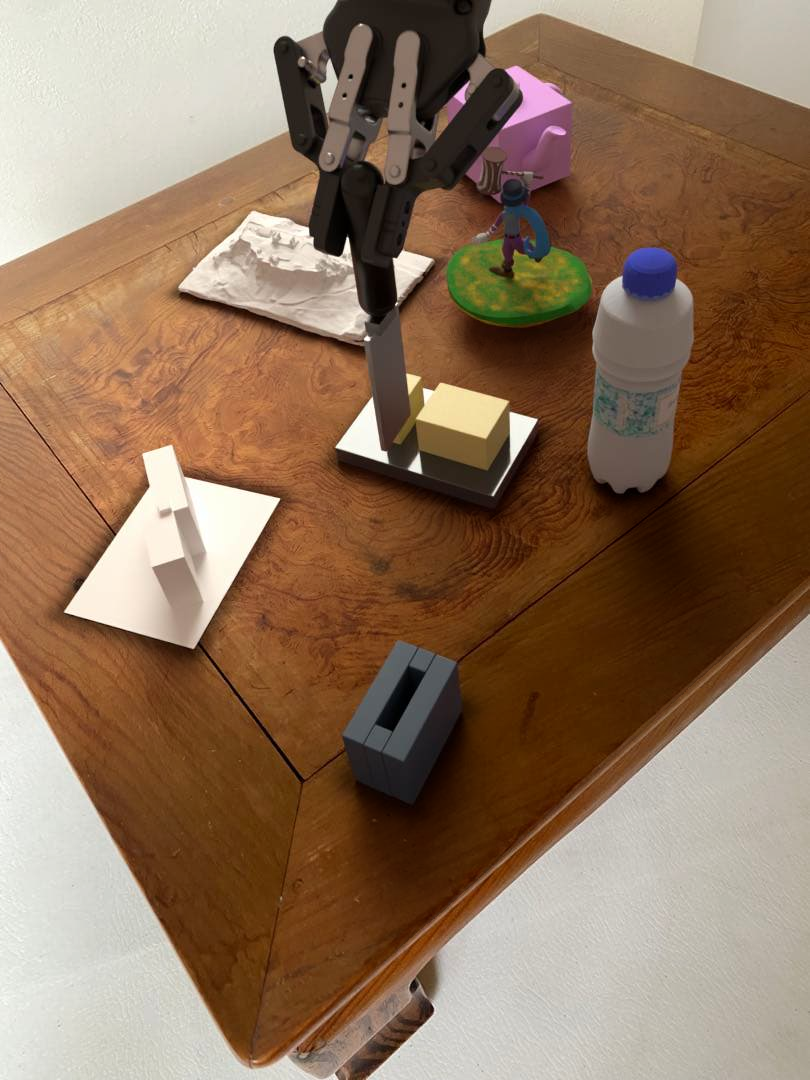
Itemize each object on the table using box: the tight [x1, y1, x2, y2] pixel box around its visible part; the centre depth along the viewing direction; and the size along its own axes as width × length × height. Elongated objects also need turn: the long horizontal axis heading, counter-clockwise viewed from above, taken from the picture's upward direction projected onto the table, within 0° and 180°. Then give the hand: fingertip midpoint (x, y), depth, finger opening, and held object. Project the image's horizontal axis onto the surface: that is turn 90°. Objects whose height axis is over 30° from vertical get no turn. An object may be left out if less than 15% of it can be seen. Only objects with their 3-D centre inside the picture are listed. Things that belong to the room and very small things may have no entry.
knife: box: [340, 160, 411, 452], centre depth 56 cm, size 2×4×19 cm, turn 153°
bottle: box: [587, 247, 695, 495], centre depth 70 cm, size 7×7×20 cm
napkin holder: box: [63, 444, 281, 650], centre depth 74 cm, size 15×11×6 cm
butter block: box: [415, 382, 511, 470], centre depth 78 cm, size 6×4×4 cm
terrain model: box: [177, 210, 435, 347], centre depth 96 cm, size 17×23×5 cm
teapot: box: [446, 64, 574, 204], centre depth 101 cm, size 18×14×10 cm
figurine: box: [445, 147, 593, 328], centre depth 86 cm, size 14×13×15 cm
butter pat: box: [393, 372, 425, 445], centre depth 80 cm, size 2×4×4 cm, turn 153°
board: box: [334, 387, 539, 510], centre depth 81 cm, size 14×9×2 cm, turn 63°
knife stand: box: [341, 639, 463, 805], centre depth 62 cm, size 4×7×6 cm, turn 153°
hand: (351, 257), depth 51 cm, fingers closed on knife, 2 cm apart
